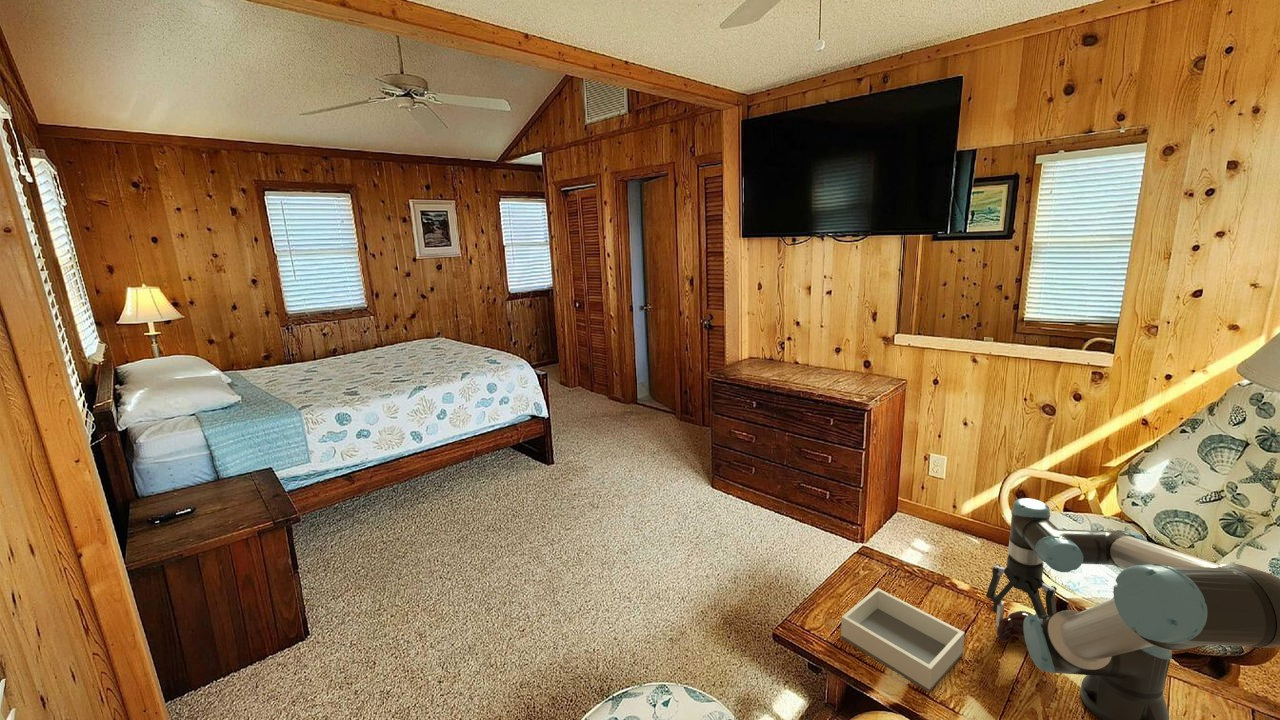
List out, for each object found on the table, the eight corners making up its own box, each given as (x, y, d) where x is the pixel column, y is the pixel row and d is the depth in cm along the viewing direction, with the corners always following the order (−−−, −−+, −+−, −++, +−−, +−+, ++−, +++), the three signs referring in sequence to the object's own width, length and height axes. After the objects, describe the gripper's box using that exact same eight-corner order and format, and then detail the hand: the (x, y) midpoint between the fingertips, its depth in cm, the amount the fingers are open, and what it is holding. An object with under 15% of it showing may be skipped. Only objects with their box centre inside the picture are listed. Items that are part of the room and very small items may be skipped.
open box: (962, 654, 141) (964, 632, 140) (929, 692, 131) (931, 669, 129) (876, 607, 160) (876, 587, 158) (841, 638, 150) (841, 616, 148)
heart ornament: (1035, 633, 148) (1054, 638, 138) (989, 638, 150) (1004, 644, 140) (1026, 607, 150) (1043, 610, 141) (980, 613, 152) (994, 616, 142)
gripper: (1080, 569, 132) (1070, 647, 137) (986, 535, 148) (980, 606, 154) (1070, 582, 128) (1060, 663, 133) (975, 546, 144) (968, 619, 149)
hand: (1017, 632), depth 143 cm, fingers closed on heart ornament, 8 cm apart
